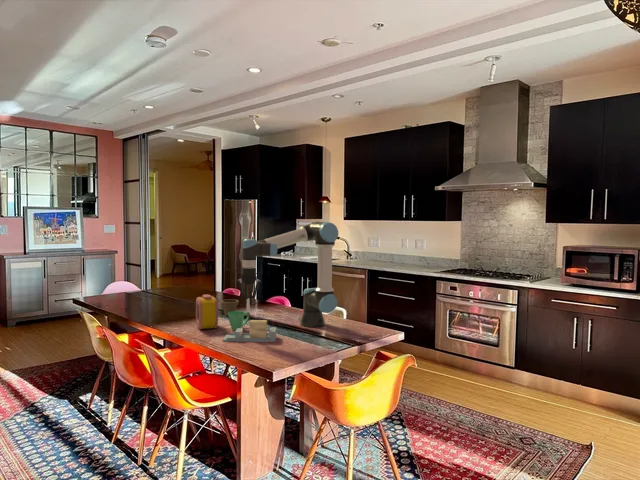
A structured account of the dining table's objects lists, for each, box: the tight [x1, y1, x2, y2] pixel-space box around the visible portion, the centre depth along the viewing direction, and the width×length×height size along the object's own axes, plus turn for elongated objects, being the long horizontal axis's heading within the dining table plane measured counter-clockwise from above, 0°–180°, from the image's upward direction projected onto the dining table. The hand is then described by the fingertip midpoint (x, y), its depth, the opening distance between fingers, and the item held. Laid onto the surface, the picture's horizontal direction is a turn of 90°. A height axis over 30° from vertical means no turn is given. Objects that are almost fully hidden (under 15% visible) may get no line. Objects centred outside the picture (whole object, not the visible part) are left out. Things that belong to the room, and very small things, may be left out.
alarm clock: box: [195, 294, 219, 330], centre depth 275 cm, size 18×11×19 cm, turn 22°
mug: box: [227, 310, 251, 331], centre depth 274 cm, size 15×10×10 cm
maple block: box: [248, 319, 268, 338], centre depth 251 cm, size 5×9×9 cm, turn 91°
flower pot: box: [220, 298, 239, 317], centre depth 310 cm, size 12×11×10 cm
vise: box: [222, 326, 277, 343], centre depth 251 cm, size 10×28×6 cm, turn 91°
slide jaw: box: [234, 327, 244, 338], centre depth 251 cm, size 9×3×4 cm, turn 1°
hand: (248, 310), depth 250 cm, fingers closed
